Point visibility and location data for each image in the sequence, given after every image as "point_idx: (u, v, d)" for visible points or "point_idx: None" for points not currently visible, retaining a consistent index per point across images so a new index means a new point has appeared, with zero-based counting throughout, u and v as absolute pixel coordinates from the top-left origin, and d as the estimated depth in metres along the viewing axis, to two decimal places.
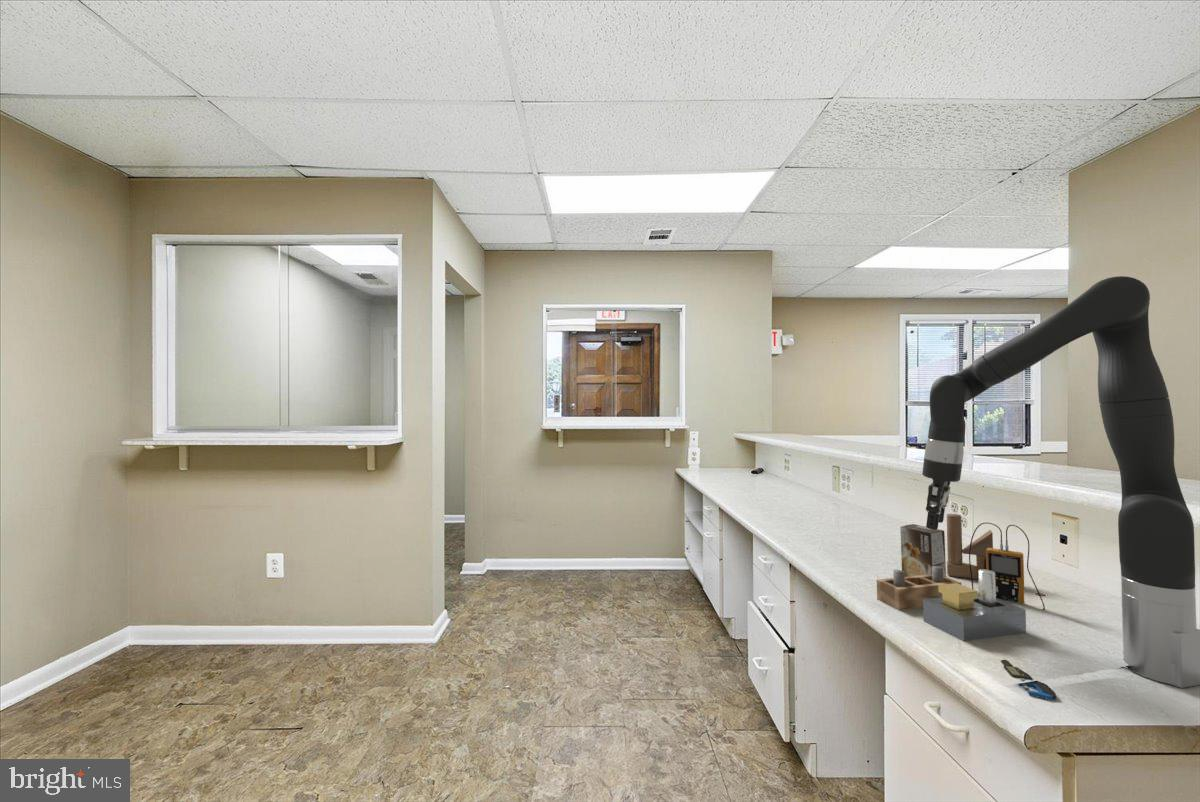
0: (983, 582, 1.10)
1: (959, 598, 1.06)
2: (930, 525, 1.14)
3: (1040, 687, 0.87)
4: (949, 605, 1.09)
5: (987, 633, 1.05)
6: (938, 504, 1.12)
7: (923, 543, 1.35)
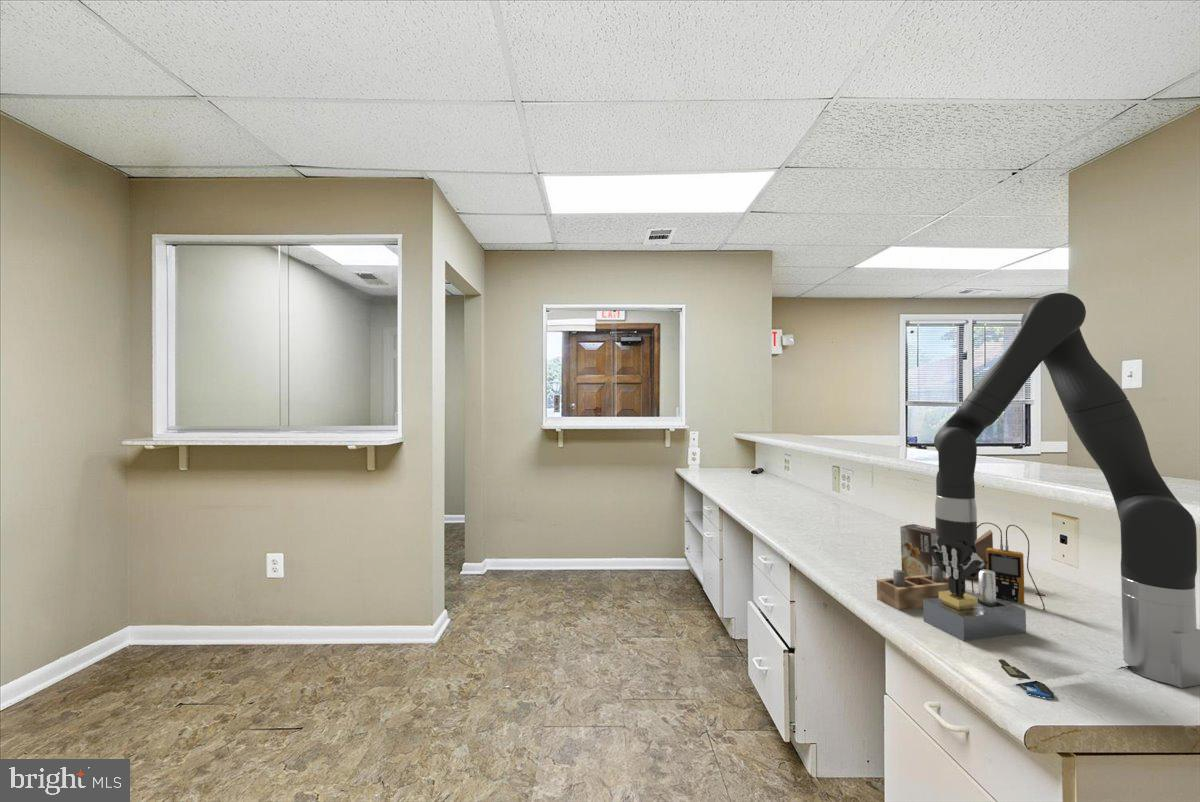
0: (983, 582, 1.10)
1: (959, 605, 1.06)
2: (961, 592, 1.08)
3: (1038, 687, 0.87)
4: None
5: (987, 633, 1.05)
6: (977, 573, 1.06)
7: (923, 543, 1.35)
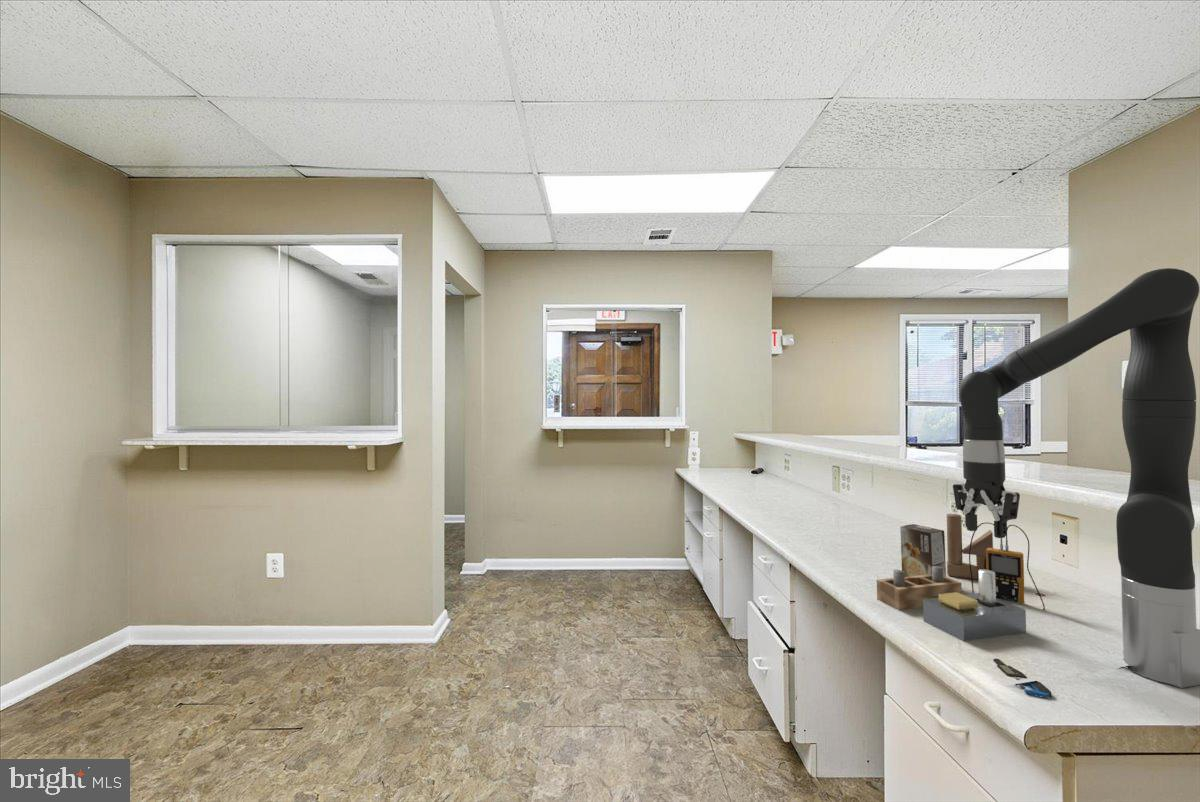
0: (983, 582, 1.10)
1: (959, 608, 1.06)
2: (1003, 534, 1.07)
3: (1036, 686, 0.87)
4: None
5: (987, 633, 1.05)
6: (1017, 510, 1.05)
7: (923, 543, 1.35)
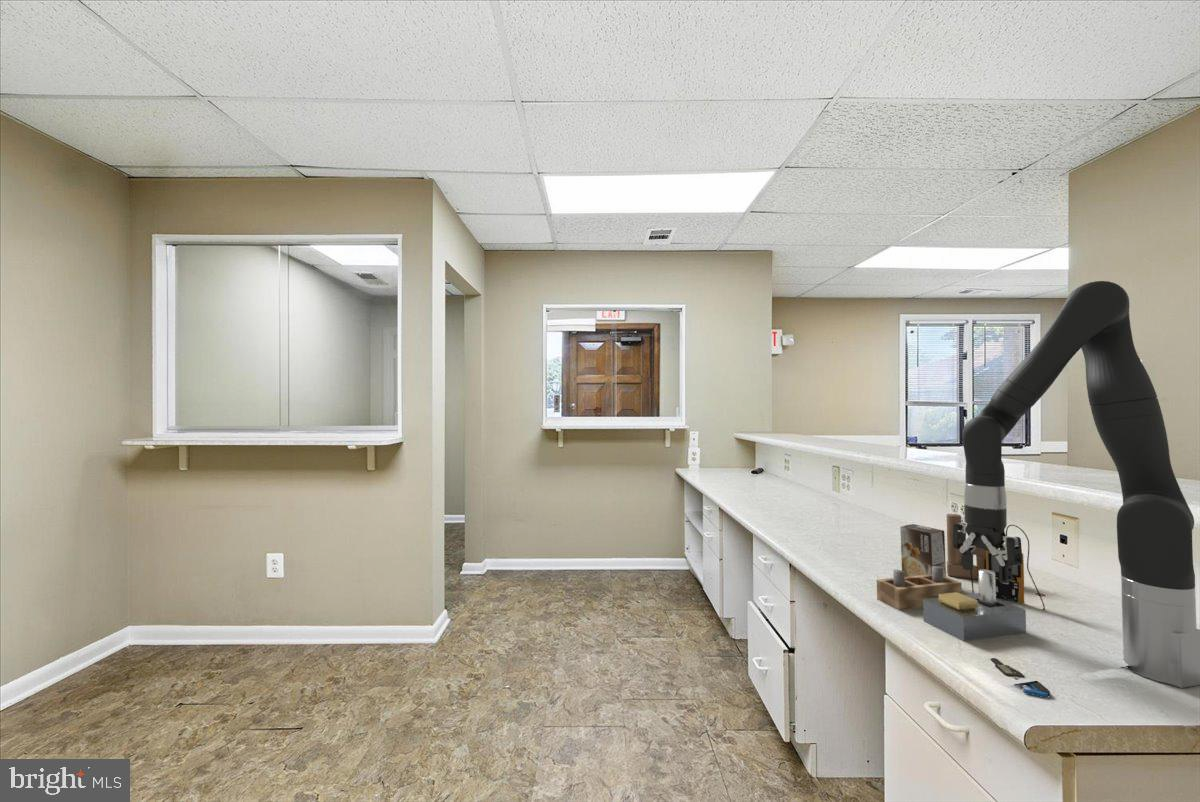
0: (983, 582, 1.10)
1: (959, 608, 1.06)
2: (1008, 579, 1.06)
3: (1034, 685, 0.87)
4: None
5: (987, 633, 1.05)
6: (1021, 555, 1.04)
7: (923, 543, 1.35)
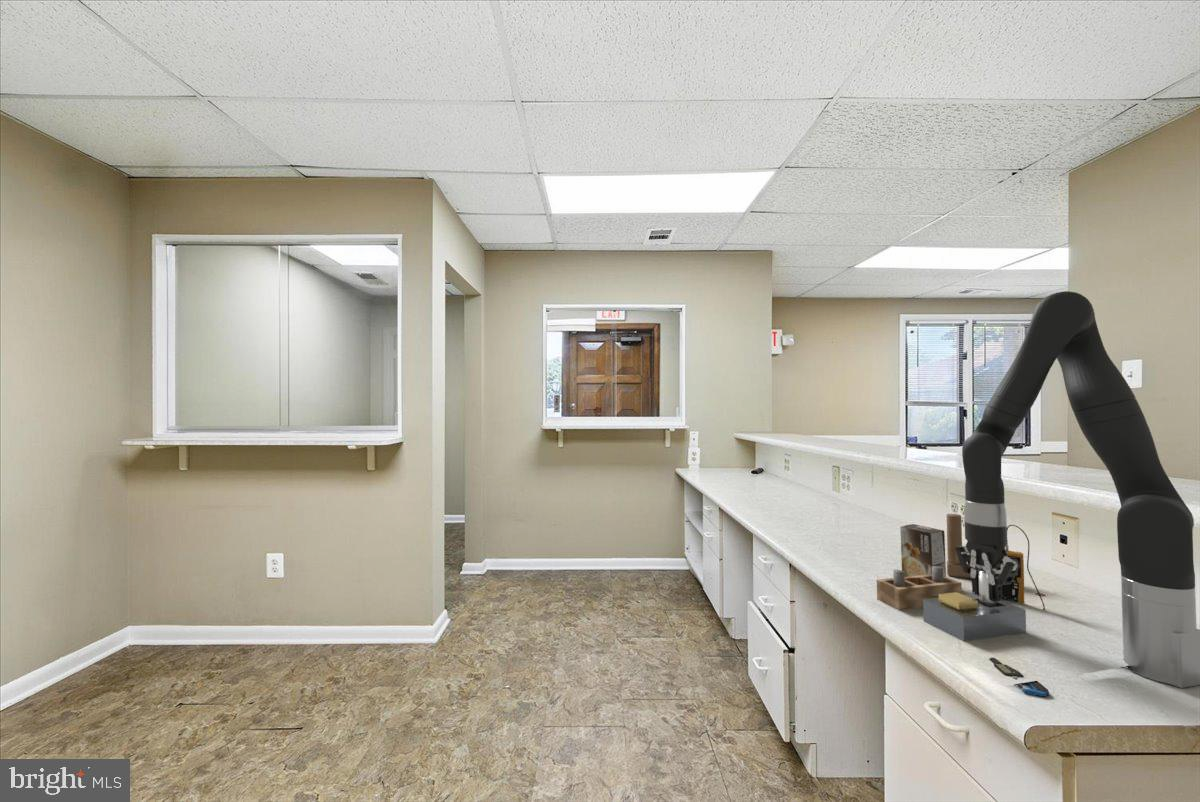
0: (983, 582, 1.10)
1: (959, 608, 1.06)
2: (998, 598, 1.08)
3: (1033, 684, 0.88)
4: None
5: (987, 633, 1.05)
6: (1013, 577, 1.06)
7: (923, 543, 1.35)
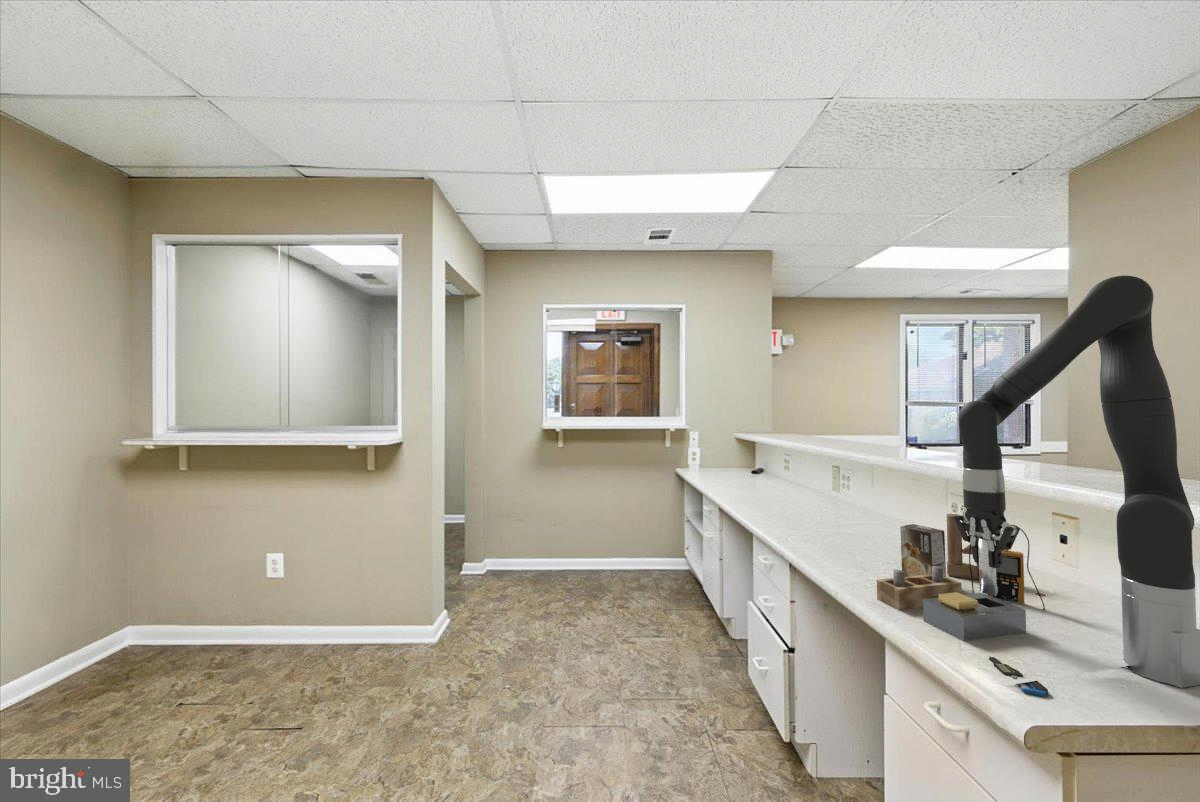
0: (983, 549, 1.10)
1: (959, 608, 1.06)
2: (998, 564, 1.08)
3: (1032, 684, 0.88)
4: None
5: (987, 633, 1.05)
6: (1012, 543, 1.06)
7: (923, 543, 1.35)
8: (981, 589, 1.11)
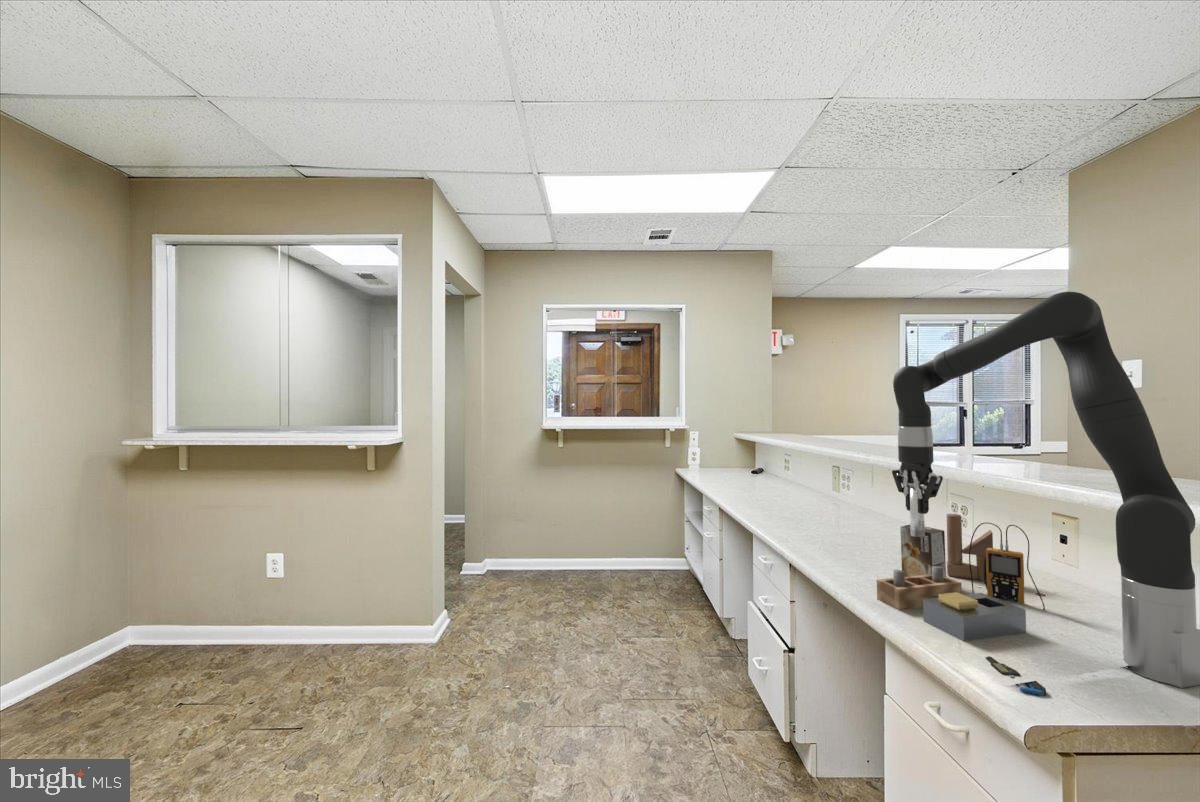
0: (913, 497, 1.24)
1: (959, 608, 1.06)
2: (925, 510, 1.22)
3: (1030, 683, 0.88)
4: None
5: (987, 633, 1.05)
6: (937, 490, 1.20)
7: (923, 543, 1.35)
8: (911, 533, 1.25)
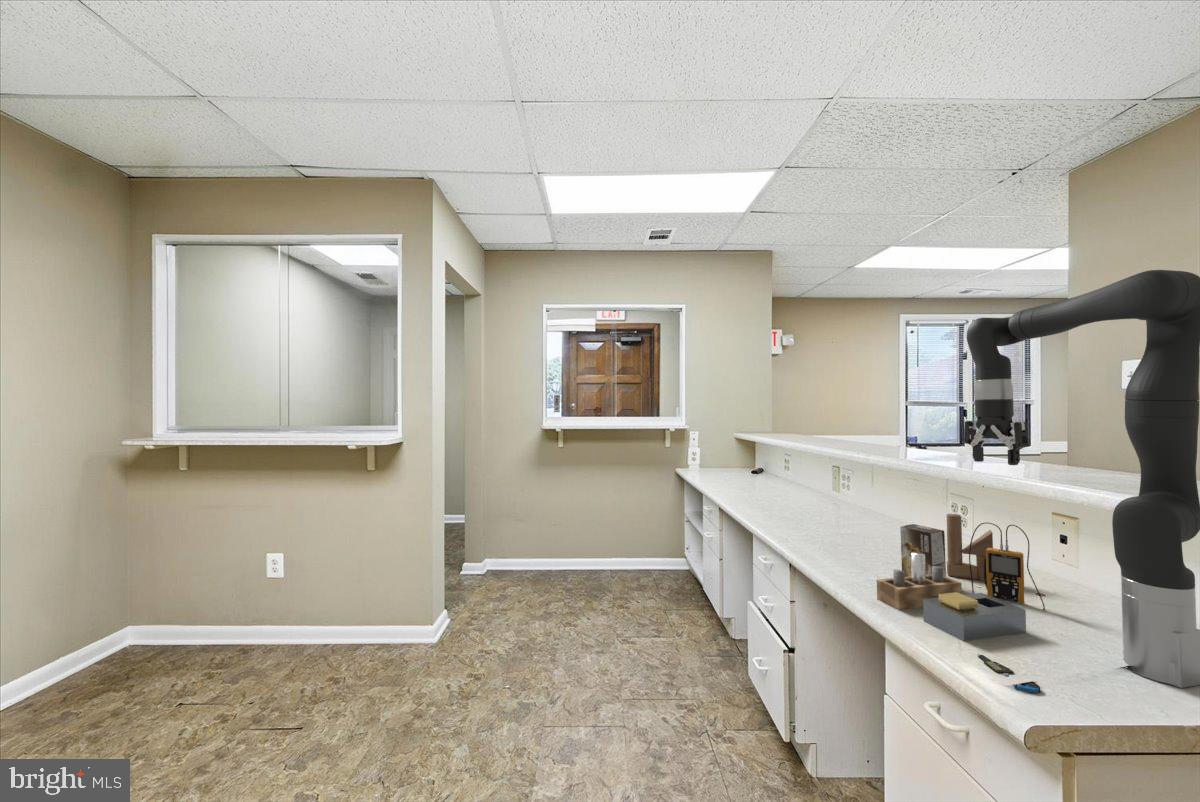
0: (914, 563, 1.24)
1: (959, 608, 1.06)
2: (1016, 461, 1.17)
3: None
4: None
5: (987, 633, 1.05)
6: (1027, 438, 1.15)
7: (923, 543, 1.35)
8: None
